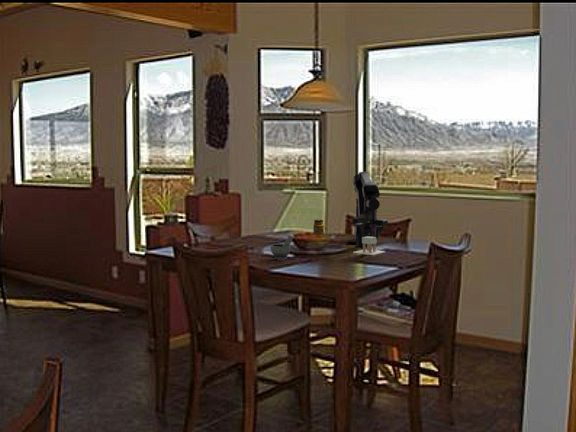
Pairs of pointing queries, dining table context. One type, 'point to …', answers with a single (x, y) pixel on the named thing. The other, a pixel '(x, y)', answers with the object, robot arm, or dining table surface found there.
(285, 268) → the dining table surface
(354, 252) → the mat
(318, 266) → the dining table surface
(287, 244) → the mortar and pestle
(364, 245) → the stool
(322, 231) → the condiment
